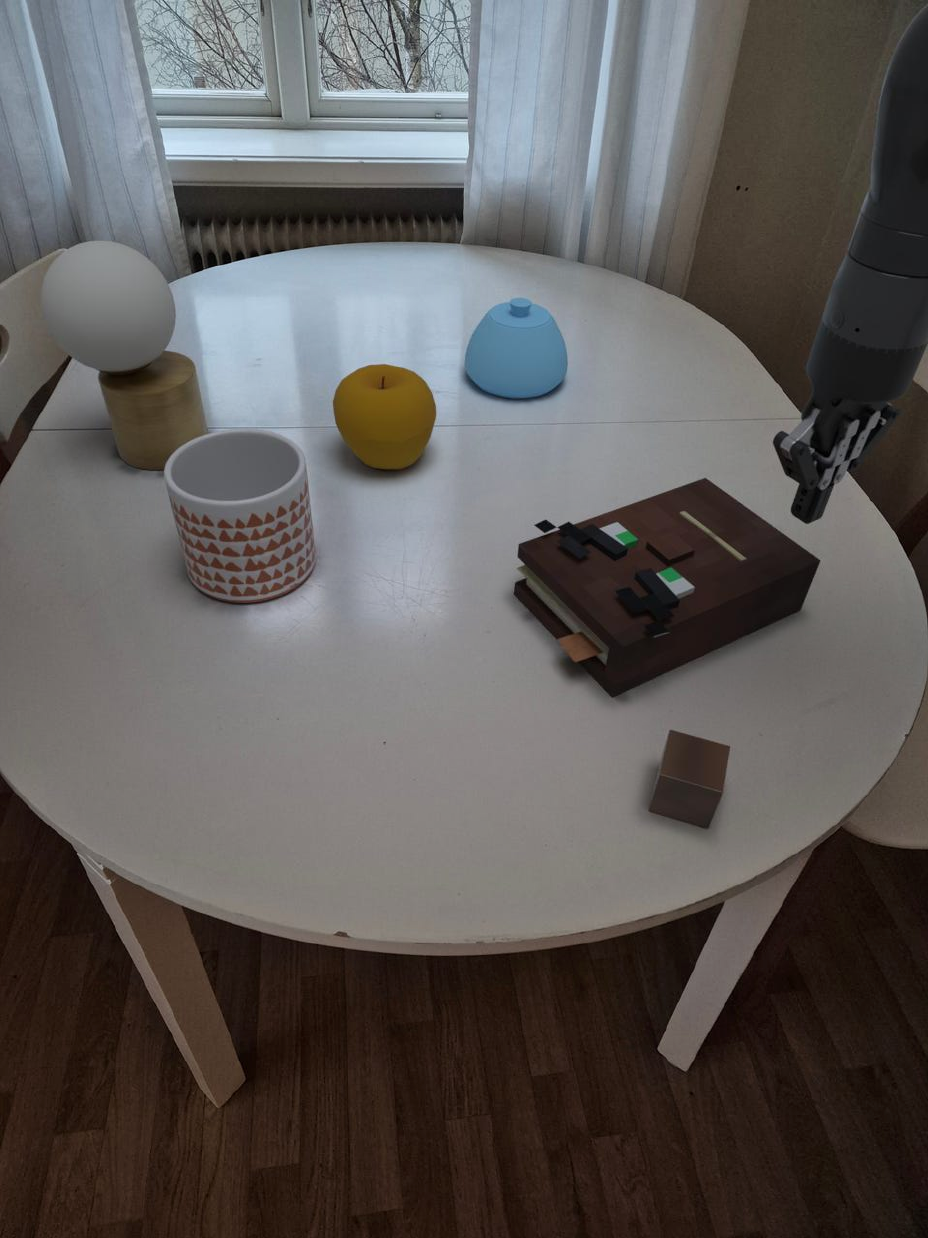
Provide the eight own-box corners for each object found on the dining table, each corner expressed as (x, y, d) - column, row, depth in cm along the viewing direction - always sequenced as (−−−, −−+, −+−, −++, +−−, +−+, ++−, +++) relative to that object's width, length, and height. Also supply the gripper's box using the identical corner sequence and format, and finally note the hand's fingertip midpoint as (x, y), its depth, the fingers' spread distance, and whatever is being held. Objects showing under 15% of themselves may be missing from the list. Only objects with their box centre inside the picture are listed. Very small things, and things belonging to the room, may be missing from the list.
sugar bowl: (565, 407, 121) (574, 327, 113) (458, 398, 122) (461, 319, 114) (566, 358, 132) (575, 283, 124) (469, 351, 133) (472, 276, 125)
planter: (208, 620, 87) (185, 518, 78) (173, 545, 95) (148, 445, 87) (335, 581, 92) (326, 481, 83) (290, 513, 100) (278, 416, 92)
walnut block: (716, 782, 74) (730, 746, 71) (708, 829, 71) (722, 793, 67) (658, 765, 75) (669, 729, 72) (648, 811, 72) (659, 774, 68)
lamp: (69, 473, 105) (0, 266, 88) (108, 415, 115) (54, 219, 98) (193, 479, 105) (149, 272, 88) (221, 420, 115) (186, 225, 98)
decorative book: (849, 553, 86) (612, 658, 74) (825, 609, 91) (600, 715, 79) (715, 460, 98) (492, 537, 86) (700, 514, 103) (488, 594, 91)
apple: (366, 497, 103) (361, 412, 96) (317, 447, 111) (309, 365, 103) (455, 467, 109) (458, 384, 101) (403, 421, 116) (402, 341, 109)
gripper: (860, 363, 57) (786, 565, 69) (977, 322, 63) (890, 516, 75) (774, 321, 62) (718, 517, 74) (890, 286, 67) (821, 474, 79)
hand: (805, 516), depth 74 cm, fingers closed
